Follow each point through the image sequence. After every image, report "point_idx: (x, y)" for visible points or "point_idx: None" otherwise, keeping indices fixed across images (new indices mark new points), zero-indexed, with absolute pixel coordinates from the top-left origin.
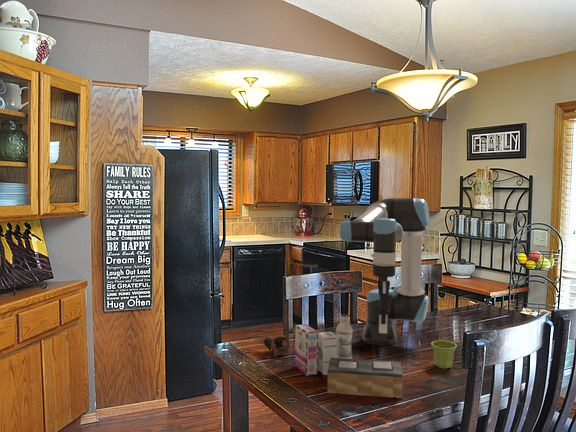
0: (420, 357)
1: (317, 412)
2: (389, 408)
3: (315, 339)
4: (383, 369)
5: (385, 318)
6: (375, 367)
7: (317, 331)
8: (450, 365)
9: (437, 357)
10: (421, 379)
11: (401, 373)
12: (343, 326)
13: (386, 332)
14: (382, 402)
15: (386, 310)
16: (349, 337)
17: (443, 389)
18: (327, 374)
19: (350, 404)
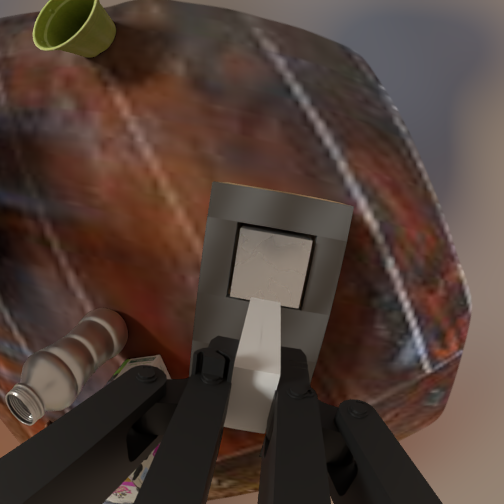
0: (39, 95)
1: (391, 411)
2: (398, 254)
3: (146, 470)
4: (306, 270)
5: (308, 378)
6: (298, 301)
7: (133, 483)
8: (111, 19)
9: (91, 43)
10: (190, 107)
11: (343, 208)
12: (57, 402)
13: (279, 308)
14: (362, 266)
15: (387, 439)
16: (75, 362)
17: (268, 61)
18: (170, 378)
19: (365, 348)
